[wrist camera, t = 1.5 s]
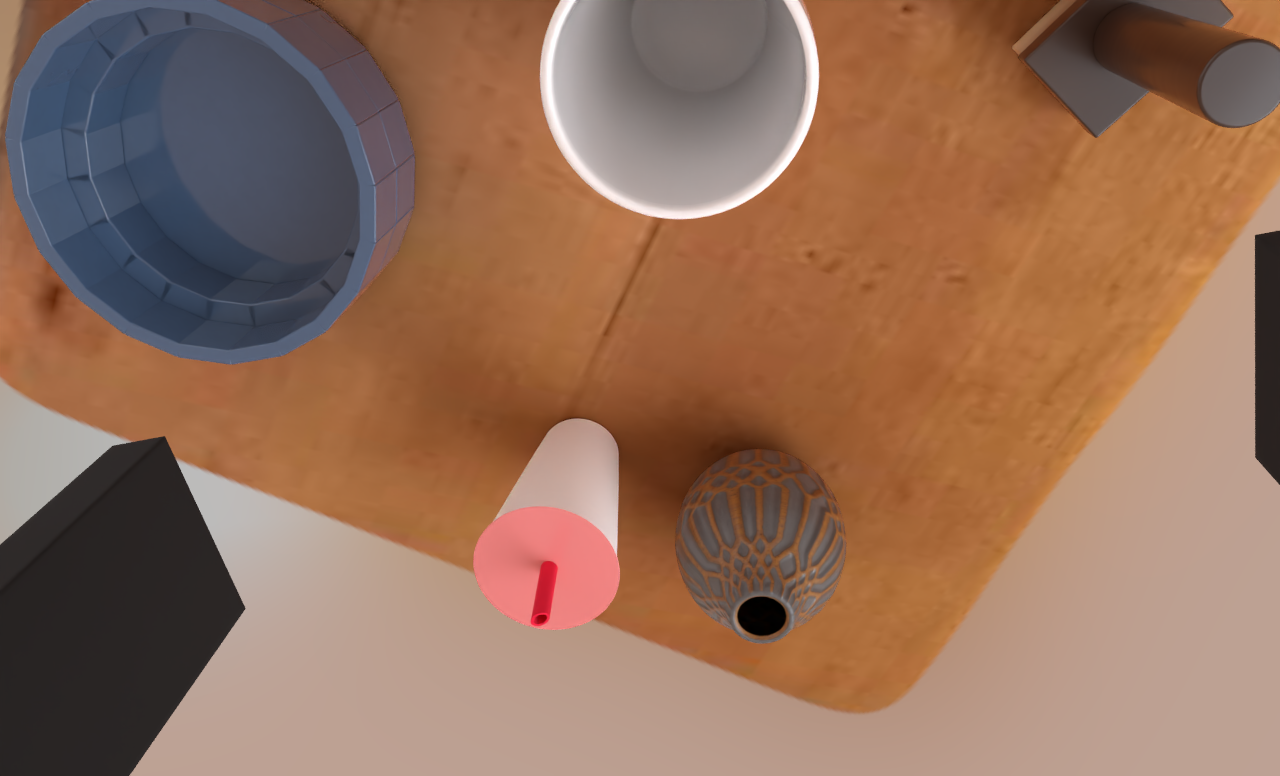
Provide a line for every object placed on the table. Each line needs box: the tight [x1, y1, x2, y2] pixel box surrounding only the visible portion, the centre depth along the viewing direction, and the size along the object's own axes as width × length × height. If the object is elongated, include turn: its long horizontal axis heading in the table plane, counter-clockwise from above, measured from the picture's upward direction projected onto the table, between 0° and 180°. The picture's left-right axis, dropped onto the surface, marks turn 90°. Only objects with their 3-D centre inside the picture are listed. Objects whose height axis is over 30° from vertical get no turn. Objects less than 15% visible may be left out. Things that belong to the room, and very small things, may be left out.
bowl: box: [5, 0, 415, 364], centre depth 40 cm, size 13×13×6 cm
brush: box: [1012, 0, 1280, 138], centre depth 32 cm, size 5×4×12 cm
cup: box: [473, 419, 620, 630], centre depth 41 cm, size 5×5×12 cm
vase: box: [675, 449, 846, 643], centre depth 43 cm, size 7×7×9 cm
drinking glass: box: [540, 0, 819, 219], centre depth 32 cm, size 7×7×15 cm
